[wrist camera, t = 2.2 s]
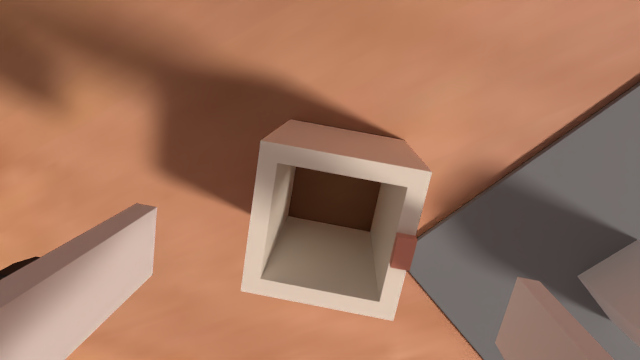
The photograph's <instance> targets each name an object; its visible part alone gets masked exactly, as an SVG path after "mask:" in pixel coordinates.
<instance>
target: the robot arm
mask: <svg viewBox="0 0 640 360" xmlns="http://www.w3.org/2000/svg"><path fill="white" fill-rule="evenodd" d="M156 214H157V207H153V206H148V205H143V204H138V203H136V204H134V205H133V206H131V207H129V208H127V209H125V210H124V211H122V212H120V213H118V214H117V215H115V216H113V217H111V218H110V219H108V220H106V221H104V222H102V223H101V224H99V225H97V226H95V227H94V228H92V229H90V230H88V231H86V232H85V233H83V234H81V235H79V236H78V237H76V238H74V239H72V240H71V241H69V242H67V243H65V244H63V245H62V246H60V247H58V248H56V249H55V250H53V251H51V252H49V253H47V254H46V255H44V256H42V257H33V258H30V259H27V260H23V261H20V262H17V263H14V264H12V265H10V266H8V267H6V268H4V269H3V270H1V271H0V360H65V359H66V358H67V357H68V356H69V355H70V354H71V353H72V352H73V351H74V350H75V349H76V348H77V347H78V346H79V345H80V344H81V343H82V342H83V341H85V340H86V339H87V338H88V337H89V336H90V335H91V334H92V333H93V332H94V331H95V330H96V329H97V328H98V327H99V326H100V325H101V324H102V323H103V322H104V321H105V320H106V319H107V318H108V317H109V316H110V315H111V314H112V313H113V312H114V311H115V310H116V309H118V308H119V307H120V306H121V305H122V304H123V303H124V302H125V301H126V300H127V299H128V298H129V297H130V296H131V295H132V294H133V293H134V292H135V291H136V290H137V289H138V288H139V287H140V286H141V285H142V284H143V283H144V282H145V281H146V280H147V279H148V278H149V277H151V276H152V274H153V259H154V244H155V229H156ZM495 344H496V345H497V347H498V349H499V351H500V353H501V354H502V356H503V358H504V360H614V359H613V358H612V357H611V356H610V355H609V354H608V353H607V352H606V351H605V349H604V348H603V347H602V346H601V345H600V344H599V343H598V342H597V341H596V340H595V339H594V338H593V337H592V336H591V335H590V334H589V333H588V332H587V331H586V330H585V328H584V327H583V326H582V325H581V324H580V323H579V322H578V321H577V320H576V319H575V318H574V317H573V316H572V315H571V314H570V313H569V312H568V311H567V310H566V309H565V308H564V306H563V305H562V304H561V303H560V302H559V301H558V300H557V299H556V298H555V297H554V296H553V295H552V294H551V293H550V292H549V291H548V290H547V289H546V288H545V287H544V285H543V284H542V283H541V282H540V281H537V280H531V279H526V278H521V277H517V280H516V283H515V286H514V289H513V292H512V294H511V297H510V300H509V303H508V306H507V309H506V312H505V315H504V318H503V321H502V324H501V327H500V330H499V333H498V335H497V338H496V341H495Z"/></svg>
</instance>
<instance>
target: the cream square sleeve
mask: <svg viewBox="0 0 640 360" xmlns="http://www.w3.org/2000/svg"><path fill="white" fill-rule="evenodd" d="M296 167H301V168H307V169H312V170H318V171H323V172H328V173H334V174H339V175H344V176H350V177H355V178H360V179H366V180H371V181H377V182H381V186H380V190H379V195H378V199H377V204H376V208H375V213H374V217H373V221H372V226H371V230H370V232H369V231H364V230H358V229H353V228H348V227H343V226H337V225H332V224H327V223H322V222H316V221H311V220H306V219H301V218H295V217H290V216H288V213H289V207H290V201H291V195H292V188H293V182H294V176H295V170H296ZM431 174H432V171H431V170H430V169H429V168H428V167H427V166H426V164H425V163H424V162H423V161H422V160H421V159H420V158H419V156H418V155H417V154H416V153H415V152H414V151H413V149H412V148H411V147H410V146H409V145H408V144H407V142H406V141H405V140H401V139H396V138H390V137H385V136H379V135H374V134H368V133H363V132H357V131H352V130H346V129H341V128H336V127H330V126H325V125H319V124H314V123H308V122H303V121H297V120H292V119H290V120H288V121H287V122H286V123H284V124H283V125H281V126H280V127H279V128H277V129H276V130H274V131H273V132H272V133H270V134H269V135H267V136H266V137H265V138H263V139H262V140H261V141H260V149H259V157H258V164H257V172H256V179H255V187H254V195H253V202H252V210H251V217H250V225H249V233H248V240H247V248H246V255H245V263H244V271H243V278H242V286H241V291H243V292H248V293H254V294H259V295H264V296H269V297H274V298H279V299H284V300H289V301H294V302H299V303H305V304H310V305H315V306H320V307H325V308H330V309H335V310H340V311H345V312H350V313H356V314H361V315H366V316H371V317H376V318H381V319H386V320H391V321H393V320H394V316H395V312H396V309H397V305H398V301H399V297H400V293H401V289H402V286H403V282H404V278H405V274H406V271H410V267H411V264H412V260H413V256H414V252H415V248H416V245H417V238H416V232H417V228H418V224H419V220H420V217H421V213H422V209H423V205H424V201H425V197H426V194H427V190H428V186H429V182H430V178H431Z"/></svg>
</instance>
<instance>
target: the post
mask: <svg viewBox="0 0 640 360" xmlns="http://www.w3.org/2000/svg"><path fill="white" fill-rule="evenodd" d="M409 272H410V273H411V274H412V276H413V277H414V278H415V279H416V280H417V282H418V283H419V284H420V285H421V286H422V287H423V289H424V290H425V291H426V292H427V293H428V294H429V296H430V297H431V298H432V299H433V300H434V301H435V303H436V304H437V305H438V306H439V307H440V309H441V310H442V311H443V312H444V313H445V314H446V316H447V317H448V318H449V319H450V320H451V321H452V323H453V324H454V325H455V326H456V327H457V328H458V330H459V331H460V332H461V333H462V334H463V336H464V337H465V338H466V339H467V340H468V341H469V343H470V344H471V345H472V346H473V347H474V348H475V350H476V351H477V352H478V353H479V354H480V355H481V357H482V358H483V359H484V360H504V358H503V356H502V354H501V353H500V351H499V349H498V347H497V345H496V344H495V341H496V338H497V335H498V333H499V330H500V327H501V324H502V321H503V318H504V315H505V312H506V309H507V306H508V303H509V300H510V297H511V294H512V292H513V289H514V286H515V283H516V280H517V277H521V278H526V279H531V280H537V281H540V282H541V283H542V284H543V285H544V287H545V288H546V289H547V290H548V291H549V292H550V293H551V294H552V295H553V296H554V297H555V298H556V299H557V300H558V301H559V302H560V303H561V304H562V305H563V306H564V308H565V309H566V310H567V311H568V312H569V313H570V314H571V315H572V316H573V317H574V318H575V319H576V320H577V321H578V322H579V323H580V324H581V325H582V326H583V327H584V328H585V330H586V331H587V332H588V333H589V334H590V335H591V336H592V337H593V338H594V339H595V340H596V341H597V342H598V343H599V344H600V345H601V346H602V347H603V348H604V349H605V351H606V352H607V353H608V354H609V355H610V356H611V357H612V358H613V359H614V360H640V82H639V83H638V84H636V85H635V86H633V87H632V88H630V89H629V90H628V91H626V92H625V93H623V94H622V95H620V96H619V97H618V98H616V99H615V100H613V101H612V102H610V103H609V104H608V105H606V106H605V107H603V108H602V109H600V110H599V111H598V112H596V113H595V114H593V115H592V116H590V117H589V118H588V119H586V120H585V121H583V122H582V123H580V124H579V125H578V126H576V127H575V128H573V129H572V130H571V131H569V132H568V133H566V134H565V135H563V136H562V137H561V138H559V139H558V140H556V141H555V142H553V143H552V144H551V145H549V146H548V147H546V148H545V149H543V150H542V151H541V152H539V153H538V154H536V155H535V156H533V157H532V158H531V159H529V160H528V161H526V162H525V163H523V164H522V165H521V166H519V167H518V168H516V169H515V170H513V171H512V172H511V173H509V174H508V175H506V176H505V177H504V178H502V179H501V180H499V181H498V182H496V183H495V184H494V185H492V186H491V187H489V188H488V189H486V190H485V191H484V192H482V193H481V194H479V195H478V196H476V197H475V198H474V199H472V200H471V201H469V202H468V203H466V204H465V205H464V206H462V207H461V208H459V209H458V210H456V211H455V212H454V213H452V214H451V215H449V216H448V217H446V218H445V219H444V220H442V221H441V222H439V223H438V224H436V225H435V226H434V227H432V228H431V229H429V230H428V231H427V232H425V233H424V234H422V235H421V236H419V237H418V238H417V245H416V248H415V252H414V256H413V260H412V264H411V267H410V271H409Z"/></svg>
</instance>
